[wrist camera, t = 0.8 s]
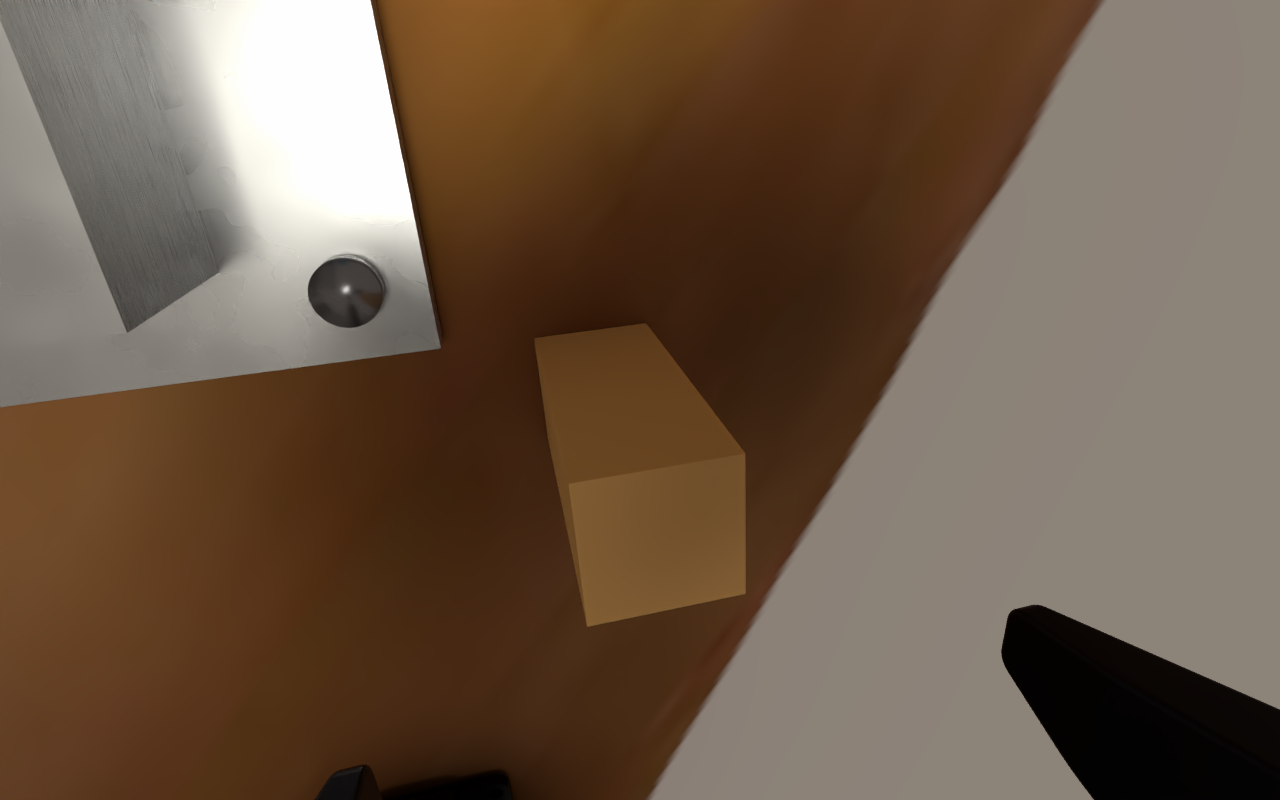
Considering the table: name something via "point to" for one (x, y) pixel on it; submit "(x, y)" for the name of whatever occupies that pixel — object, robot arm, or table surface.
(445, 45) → the table surface
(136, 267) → the bracket collar
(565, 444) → the wedge pin
